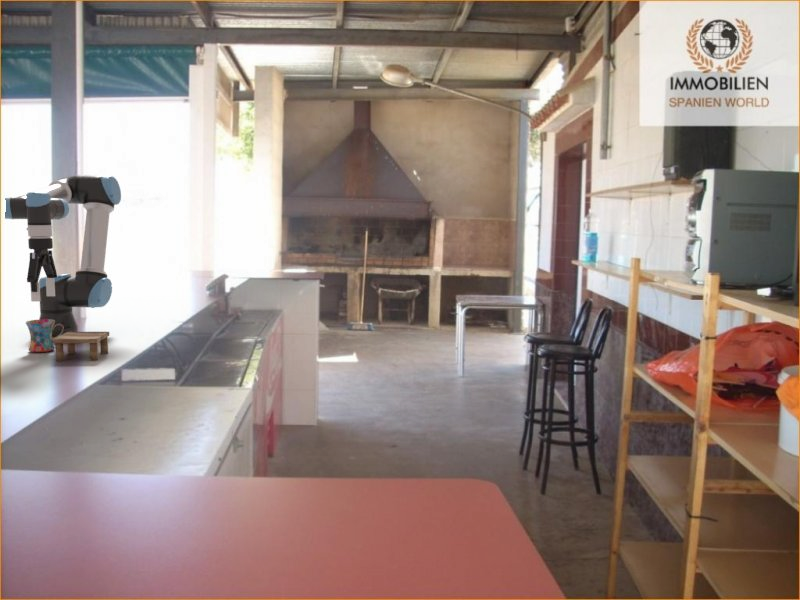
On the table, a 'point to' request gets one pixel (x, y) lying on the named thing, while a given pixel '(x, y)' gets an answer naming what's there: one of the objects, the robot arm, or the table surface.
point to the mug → (41, 335)
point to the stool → (81, 338)
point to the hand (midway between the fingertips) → (43, 298)
